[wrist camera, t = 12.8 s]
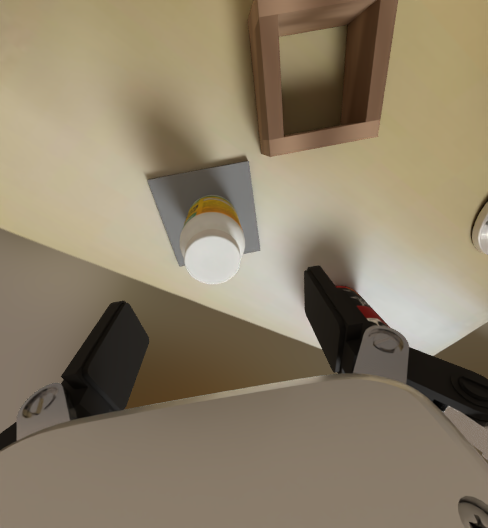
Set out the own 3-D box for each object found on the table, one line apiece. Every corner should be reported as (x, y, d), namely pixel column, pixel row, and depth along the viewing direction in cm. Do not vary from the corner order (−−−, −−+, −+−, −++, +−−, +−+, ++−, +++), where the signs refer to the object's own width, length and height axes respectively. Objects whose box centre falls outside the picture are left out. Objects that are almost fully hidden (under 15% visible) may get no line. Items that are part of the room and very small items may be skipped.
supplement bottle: (230, 245, 25) (237, 298, 17) (184, 235, 24) (168, 286, 16) (243, 201, 23) (260, 237, 14) (193, 186, 21) (180, 217, 13)
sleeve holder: (364, 0, 16) (403, -36, 13) (351, 136, 21) (377, 136, 18) (247, 20, 16) (256, -12, 13) (261, 153, 21) (270, 156, 18)
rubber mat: (248, 160, 21) (248, 161, 21) (259, 248, 26) (260, 250, 26) (148, 179, 21) (147, 180, 21) (180, 264, 26) (179, 266, 26)
